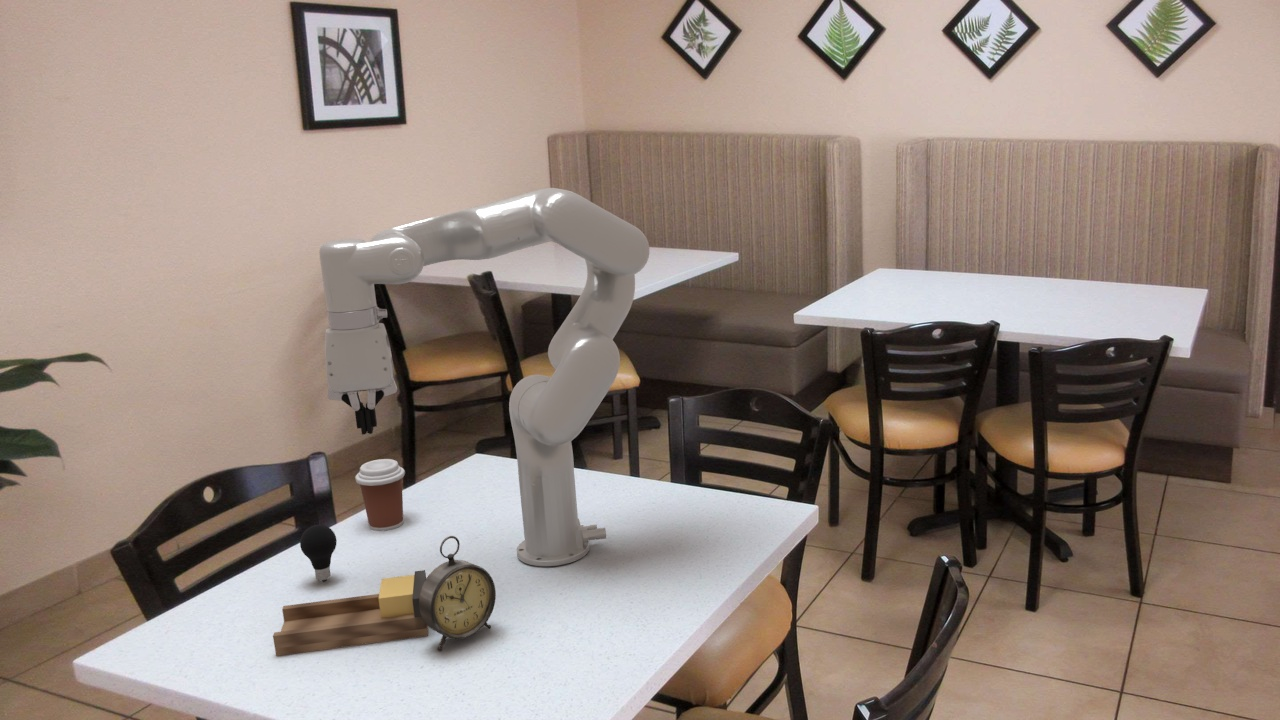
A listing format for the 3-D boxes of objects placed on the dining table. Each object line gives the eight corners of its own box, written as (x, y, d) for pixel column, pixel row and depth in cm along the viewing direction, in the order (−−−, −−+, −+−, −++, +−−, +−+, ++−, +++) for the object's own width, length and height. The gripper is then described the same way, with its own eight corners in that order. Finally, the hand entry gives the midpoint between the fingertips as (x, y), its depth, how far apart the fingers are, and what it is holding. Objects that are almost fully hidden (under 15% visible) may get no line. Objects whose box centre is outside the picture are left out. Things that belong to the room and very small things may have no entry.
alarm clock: (438, 658, 157) (425, 553, 153) (419, 645, 161) (406, 543, 157) (501, 630, 164) (491, 529, 160) (481, 619, 168) (470, 520, 164)
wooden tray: (429, 606, 173) (425, 570, 172) (427, 635, 163) (423, 597, 162) (286, 624, 170) (280, 588, 168) (276, 656, 160) (270, 617, 159)
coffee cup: (420, 519, 210) (413, 460, 207) (386, 537, 202) (378, 475, 199) (386, 512, 214) (379, 454, 211) (351, 529, 207) (343, 469, 204)
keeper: (418, 604, 171) (414, 574, 170) (416, 624, 164) (412, 594, 163) (385, 608, 170) (381, 578, 169) (382, 629, 164) (378, 598, 162)
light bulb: (331, 589, 181) (323, 533, 179) (299, 588, 183) (291, 532, 180) (347, 574, 187) (340, 519, 185) (316, 573, 188) (308, 518, 186)
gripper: (403, 310, 174) (416, 420, 179) (307, 319, 172) (322, 430, 177) (400, 319, 167) (414, 433, 172) (300, 328, 165) (316, 444, 170)
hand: (367, 431), depth 174 cm, fingers closed
